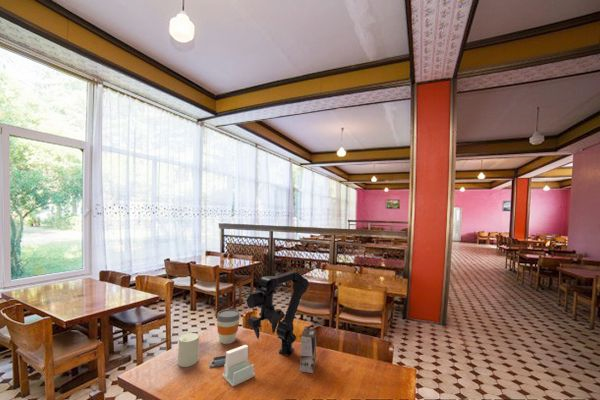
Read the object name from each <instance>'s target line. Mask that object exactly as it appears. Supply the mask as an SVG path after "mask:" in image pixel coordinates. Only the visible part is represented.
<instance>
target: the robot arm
mask: <svg viewBox="0 0 600 400" xmlns="http://www.w3.org/2000/svg"><path fill="white" fill-rule="evenodd" d="M287 282H292V295H291V297H290V301H289V304H288V306H287V309H286V311H285V312H286V313H284V311H282V309H279V308H278V309H276V308H275V305H274V303H273V302H274V298H273V297H274V294H276V293H277V291H276V289H277V288H278V286H280V285H281V284H284V283H287ZM309 284H310V283H309V280H308V279H307V278H305V277H304V276H302V274H300V273H299V272H298V271H295V270H290V271H289V270H288V271H287V272H284V273H281V274H280V273H279V274H278V275H273V276H272V275H267V276H266V275H265V276H262V277H261V278H260V281H259V282H258V284H257V286H256V287H255V289H254V291H255V292H250V293H249V295H248V296H247V299H246V306H247V307H248V308H249V309H254V308H257V307H259V308H260V312H259V313H258V315H259V316H260V317H257V316H255V315H253V316H250V317H248V318H247V321H246V323H247V325H249V326H250V327H252V329H253V332H254V333H255V337H256V339H257V340H258V339H259V340H260V328H261V327H262V326H261V323H262V322H264V321H267V320H268V321H269V323H270V325H271V332H272V334H275V332H276V335H277V339H280V340H281V341H280V343H281V346H280V350H279V352H278V353H279V354H281V355H287V356H291V355H292V354H293V352H294V350H295V348H294V347H293V344H294V342H296V341H297V335H296V334H295V333H293V332H294V328H295V327H294V320H295V317H296V314H297V311H298V308H299V304H300V301H301V299H302V296H303V295H304V293H306V292H307V290H308V287H309Z"/></svg>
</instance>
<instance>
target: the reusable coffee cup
mask: <svg viewBox="0 0 600 400" xmlns="http://www.w3.org/2000/svg"><path fill="white" fill-rule="evenodd" d="M216 315H217V317H216V320H217V324H216V327H217V333H218V338H219V343H221V344H223V345H224V344H225V345H227V344H232V343H234V342H235V341H236V338H237V332H238V331H239V325H240V321H239V320H240V317H241V316H240V311H239V310H238V309H234V308H228V309H226V308H225V309H222V310H219V311H218V312H217V314H216Z"/></svg>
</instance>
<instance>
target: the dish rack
mask: <svg viewBox="0 0 600 400" xmlns="http://www.w3.org/2000/svg"><path fill="white" fill-rule="evenodd" d="M255 376H256V373H255V364H254V363H252V364H251V365H250V360H248V361H245V362H243V363H241V364H238V365H236V366H234V367H231V368H229V373H228V377H226V375H225V364H224V365H223V373H222V378H223V379H225V380H226V381H227V382H228V384H230V385H231V387H235V386H237V385H239V384H241V383H243V382H245V381H247V380H249V379H251V378H253V377H255Z"/></svg>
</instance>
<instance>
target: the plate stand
mask: <svg viewBox="0 0 600 400" xmlns="http://www.w3.org/2000/svg"><path fill="white" fill-rule="evenodd" d="M208 363H209V364H208V365H209V369H210V368H215V367H216V368H217V367H221V366H224V364H225V363H226V354H224V355H216V356H214V357H213V360H211V359H209V361H208Z"/></svg>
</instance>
